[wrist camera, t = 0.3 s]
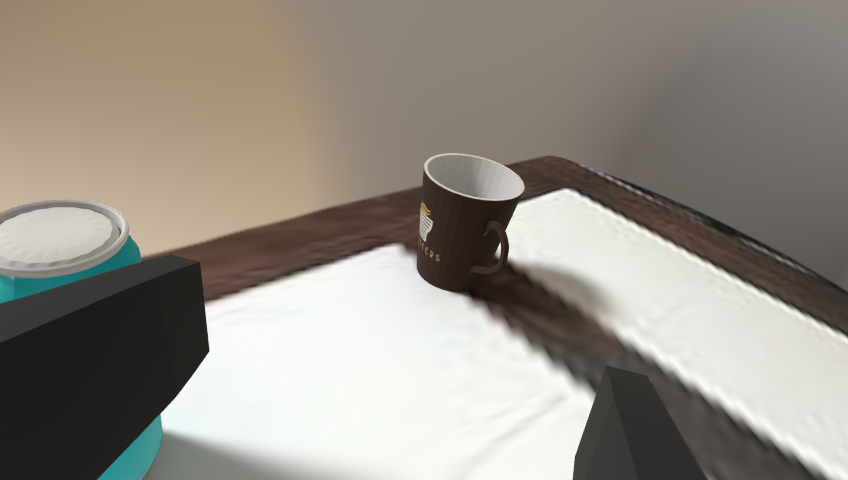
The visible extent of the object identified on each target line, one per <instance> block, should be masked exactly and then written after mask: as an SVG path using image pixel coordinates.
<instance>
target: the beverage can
mask: <svg viewBox="0 0 848 480" xmlns="http://www.w3.org/2000/svg"><path fill="white" fill-rule="evenodd" d="M139 262H141V255H140V251H139V248H138V246H137V245H136V243H135V242H134V241H133V240H132V238H131V237H130V235H129V226H128V222H127V220H126V219H125V217H124V216H123V215H122V214H121V213H120V212H119V211H117V210H116V209H114V208H112V207H110V206H107V205H104V204H101V203H97V202H92V201H87V200H76V199H57V200H45V201H38V202H32V203H28V204H23V205H20V206H17V207H13V208H10V209H7V210H5V211H2V212H0V303H4V302H8V301H11V300H15V299H18V298H22V297H26V296H29V295H32V294H36V293H39V292H42V291H46V290H49V289H52V288H55V287H59V286H62V285H65V284H69V283H72V282H75V281H78V280H82V279H85V278H88V277H92V276H95V275H98V274H101V273H105V272H108V271H111V270H115V269H118V268H122V267H125V266H128V265H132V264H135V263H139ZM161 441H162V423H161V415H159V416H158V417H157V418H156V419H155V420H154V421H153V422H152V423H151V424H150V425H149V426H148V427H147V428H146V429H145V430H144V432H143V433H142V434H141V435H140V436H139V437H138V438H137V439H136V440H135V441H134V442H133V443H132V444H131V445H130V446H129V447H128V448H127V449H126V450H125V451H124V452H123V453H122V454H121V455H120V456H119V457H118V458H117V460H116V461H115V462H114V463H113V464H112V465H111V466H110V467H109V468H108V469H107V470H106V471H105V472H104V473H103V474H102V475H101V476H100V477H99V478H98V479H97V480H142V479H143V478H144V477H145V475H146V474H147V472H148V471H149V469H150V467H151V465H152V463H153V462H154V459H155V457H156V455H157V453H158V450H159V448H160V445H161Z"/></svg>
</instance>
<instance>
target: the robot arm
mask: <svg viewBox="0 0 848 480" xmlns="http://www.w3.org/2000/svg"><path fill="white" fill-rule="evenodd" d="M208 352H209V342H208V333H207V324H206V315H205V305H204V296H203V287H202V277H201V268H200V262H197V261H193V260H189V259H185V258H181V257H177V256H173V255H169V256H164V257H159V258H155V259H151V260H147V261H143V262H139V263H135V264H132V265H128V266H125V267H122V268H118V269H115V270H111V271H108V272H105V273H101V274H98V275H95V276H92V277H88V278H85V279H82V280H78V281H75V282H72V283H69V284H65V285H62V286H59V287H55V288H52V289H49V290H46V291H42V292H39V293H36V294H32V295H29V296H26V297H22V298H18V299H15V300H11V301H8V302H4V303H0V480H97V479H98V478H99V477H100V476H101V475H102V474H103V473H104V472H105V471H106V470H107V469H108V468H109V467H110V466H111V465H112V464H113V463H114V462H115V461H116V460H117V458H118V457H119V456H120V455H121V454H122V453H123V452H124V451H125V450H126V449H127V448H128V447H129V446H130V445H131V444H132V443H133V442H134V441H135V440H136V439H137V438H138V437H139V436H140V435H141V434H142V433H143V432H144V430H145V429H146V428H147V427H148V426H149V425H150V424H151V423H152V422H153V421H154V420H155V419H156V418H157V417H158V416H159V415H160V414H161V412H162V411H163V410H164V409H165V408H166V407H167V406H168V405H169V404H170V403H171V402H172V401H173V400H174V398H175V397H176V396H177V395H178V394H179V392H180V391H181V390H182V388H183V387H184V386H185V384H186V383H187V382H188V380H189V379H190V378H191V377H192V375H193V374H194V372H195V371H196V369H197V368H198V367H199V365H200V364H201V362H202V361H203V360H204V358H205V357H206V355H207V354H208ZM573 480H708V479H707V477H706V476H705V474H704V473H703V471H702V469H701V468H700V466H699V464H698V463H697V461H696V459H695V458H694V456H693V454H692V453H691V451H690V449H689V448H688V446H687V444H686V442H685V441H684V439H683V437H682V436H681V434H680V432H679V430H678V429H677V427H676V425H675V423H674V422H673V420H672V418H671V416H670V415H669V413H668V411H667V409H666V408H665V406H664V404H663V402H662V400H661V399H660V397H659V395H658V393H657V392H656V390H655V388H654V386H653V385H652V383H651V381H650V380H649V378H648V377H647V376H645V375H641V374H637V373H633V372H629V371H626V370H622V369H618V368H614V367H610V366H606V368H605V371H604V374H603V376H602V379H601V382H600V385H599V388H598V391H597V394H596V397H595V400H594V403H593V406H592V409H591V412H590V414H589V417H588V420H587V423H586V426H585V429H584V432H583V435H582V438H581V441H580V444H579V447H578V450H577V452H576V455H575V461H574V472H573Z"/></svg>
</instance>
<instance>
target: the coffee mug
mask: <svg viewBox="0 0 848 480" xmlns="http://www.w3.org/2000/svg"><path fill="white" fill-rule="evenodd" d="M523 191H524V183H523V181H522V180H521V178H520V177H519V176H518V175H517V174H516V173H515V172H513V171H512V170H510V169H509V168H507V167H505V166H503V165H501V164H499V163H496V162H494V161H492V160H488V159H485V158H482V157H478V156H473V155H467V154H456V153H450V154H449V153H448V154H441V155H436V156H433V157H431V158H429V159H428V160H427V161H426V162H425V165H424V173H423V187H422V200H421V214H420V227H419V241H418V255H417V270H418V272H419V274H420V275H421V277H422V278H423V279H424V280H426V281H427V282H428V283H430V284H431V285H433V286H435V287H438V288H440V289H443V290H447V291H453V292H465V291H470V290H473V289H475V288H477V287H478V286H479V285H480V284H481V283H482V281H483V279H484V276H485V274H492V273H496V272H499V271H500V270H502V269H503V268H504V266H505V264H506V262H507V258H508V252H509V243H508V238H507V234H506V232H505V230H506V228H507V226H508V224H509V222H510V219H511V217H512V215H513V213H514V211H515V209H516V206H517V204H518V202H519V200H520V198H521V195H522V193H523ZM500 242H501V255H500V259H499V261H498V263H497V264H496V265H495V266H493V267H491V268H489V266H490V263H491V261H492V259H493V257H494V255H495V252H496V250H497V248H498V246H499V244H500Z"/></svg>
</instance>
